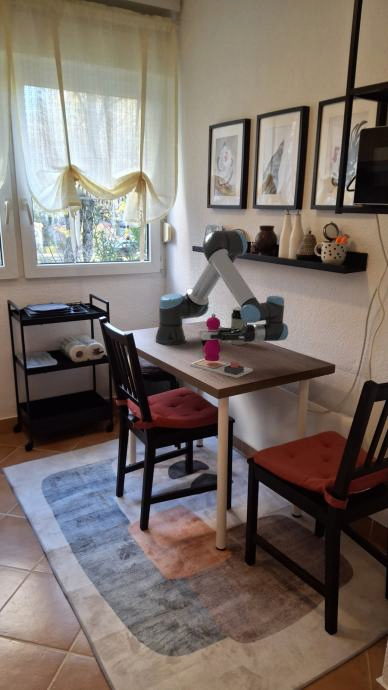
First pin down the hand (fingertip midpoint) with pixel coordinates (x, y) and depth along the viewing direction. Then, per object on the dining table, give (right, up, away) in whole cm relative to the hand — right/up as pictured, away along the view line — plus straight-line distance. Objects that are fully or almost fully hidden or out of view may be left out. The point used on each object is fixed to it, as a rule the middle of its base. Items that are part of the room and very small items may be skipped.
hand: (200, 334), depth 212 cm
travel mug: (+19, -4, +43) cm, 47 cm away
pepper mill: (+5, -11, +4) cm, 12 cm away
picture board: (+9, -14, +2) cm, 17 cm away
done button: (+14, -14, -6) cm, 20 cm away
